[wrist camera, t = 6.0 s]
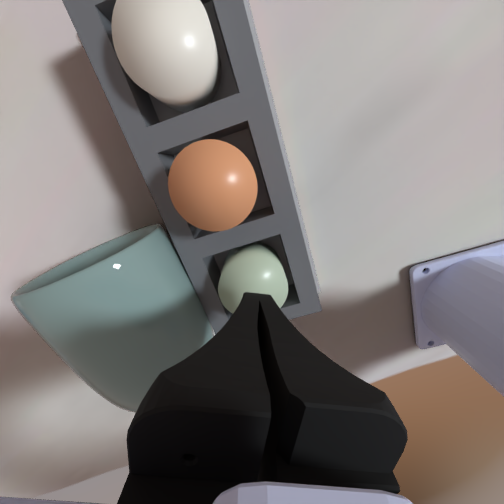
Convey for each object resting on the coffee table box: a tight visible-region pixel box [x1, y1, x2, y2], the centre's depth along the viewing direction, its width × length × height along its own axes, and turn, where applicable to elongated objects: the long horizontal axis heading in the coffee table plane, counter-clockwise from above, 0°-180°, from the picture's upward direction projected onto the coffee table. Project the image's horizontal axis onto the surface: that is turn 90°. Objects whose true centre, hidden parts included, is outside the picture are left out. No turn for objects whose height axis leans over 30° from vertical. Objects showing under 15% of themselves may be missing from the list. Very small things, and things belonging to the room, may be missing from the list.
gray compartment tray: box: [62, 0, 322, 334], centre depth 14 cm, size 8×20×3 cm, turn 18°
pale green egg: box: [218, 241, 288, 314], centre depth 15 cm, size 4×4×3 cm
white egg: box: [111, 0, 221, 112], centre depth 11 cm, size 4×4×3 cm
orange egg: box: [168, 139, 258, 231], centre depth 12 cm, size 4×4×3 cm
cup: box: [11, 224, 214, 412], centre depth 15 cm, size 8×8×10 cm
